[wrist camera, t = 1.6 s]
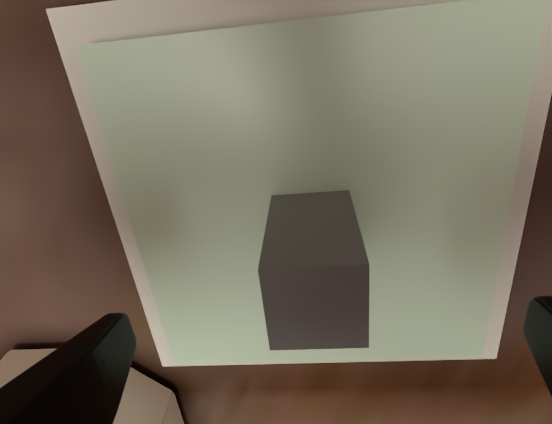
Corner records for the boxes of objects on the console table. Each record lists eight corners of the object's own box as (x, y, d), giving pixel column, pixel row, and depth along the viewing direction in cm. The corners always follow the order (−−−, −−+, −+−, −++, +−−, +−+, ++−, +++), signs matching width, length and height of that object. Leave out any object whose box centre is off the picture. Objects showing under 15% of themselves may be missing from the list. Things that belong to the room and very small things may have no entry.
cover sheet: (531, -8, 10) (710, -30, 6) (473, 340, 15) (541, 468, 11) (90, 43, 11) (-45, 58, 7) (179, 349, 16) (135, 466, 12)
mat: (568, -55, 10) (583, -60, 9) (489, 347, 16) (496, 358, 15) (57, 9, 11) (45, 9, 11) (166, 355, 17) (162, 366, 17)
